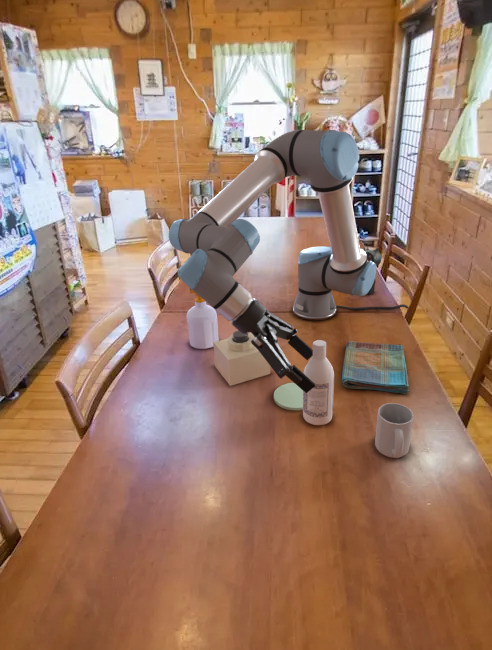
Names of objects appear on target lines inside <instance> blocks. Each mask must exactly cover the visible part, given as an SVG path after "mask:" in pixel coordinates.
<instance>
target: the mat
mask: <svg viewBox="0 0 492 650" xmlns="http://www.w3.org/2000/svg"><path fill="white" fill-rule="evenodd" d="M273 400H274V403H275V404H276V406H279V407H280V408H282V409H284V410H287V411H295V412H296V411H303V390H302V389H301V388H299V387H298V386H297V385H296V384H295V383H294V382H288V383H283V384H282V385H280V386H278V387H276V389H275V390H274V392H273Z"/></svg>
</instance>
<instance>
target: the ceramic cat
mask: <svg viewBox="0 0 492 650" xmlns="http://www.w3.org/2000/svg"><path fill="white" fill-rule="evenodd" d="M360 242H361V243H363V244H364V245H366V242H365V241H364V240H363V239H359V243H360ZM363 250H364V251H365V252H366V255H367V260H368V261H372V262H374V263H375V264H376V267H378V266H379V265H380V264H381V263H382V254H381V253H380V250H379V247H377V248H375V249H369V247H368V246H367V247H364V248H363ZM376 283H377V281H376V279H375V280H374V282H373V285H372V287H371V289H370V290H369V292H368V293H367V294H366V295H372V294H373V293H375V288H376Z"/></svg>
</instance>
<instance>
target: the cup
mask: <svg viewBox="0 0 492 650" xmlns="http://www.w3.org/2000/svg"><path fill="white" fill-rule="evenodd" d="M414 417H415V414H414V412H413V410H411V409H410V407H409V406H407V405H404V404H403V403H402V404H401V403H398V402H387V403H383V404H382V405H380V406H379V407H378V409H377V417H376V427H375V438H374V446H375V449H376V450H377V451H378V452H379V453H380V454H382V455H383V456H385V457H388V458H393V459H399V458H402V457H404V456H406V455H407V454H408V452H409V450H410V446H411V439H412V431H413V425H414V420H415V419H414Z"/></svg>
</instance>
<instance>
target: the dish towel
mask: <svg viewBox="0 0 492 650" xmlns="http://www.w3.org/2000/svg"><path fill="white" fill-rule="evenodd" d="M405 357H406V356H405V350H404V346H403V344H392V343H379V342H378V343H377V342H366V341H365V342H364V341H363V342H362V341H353V340H349V341H347V342H346V346H345V352H344V359H343V366H342V375H341V384H342V385H343V387H345V388H347V389H356V390H369V391H370V390H371V391H380V392H388V393H395V394H403V395H406V394H407V393H409V392H410V389H409V388H410V385H409V377H408V369H407V364H406V358H405Z"/></svg>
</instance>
